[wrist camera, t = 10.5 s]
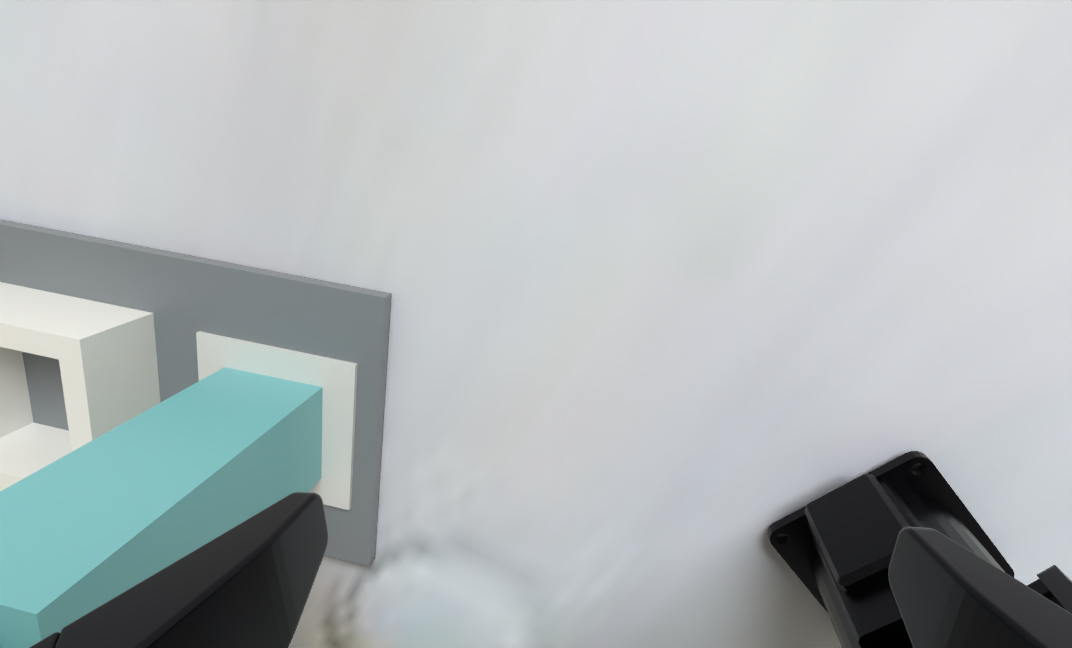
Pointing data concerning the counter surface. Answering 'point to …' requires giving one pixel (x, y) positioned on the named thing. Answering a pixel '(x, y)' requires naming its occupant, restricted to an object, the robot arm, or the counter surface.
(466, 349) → the counter surface
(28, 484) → the plug
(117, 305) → the grey board with socket
